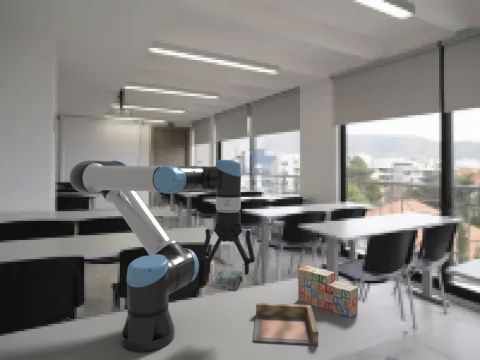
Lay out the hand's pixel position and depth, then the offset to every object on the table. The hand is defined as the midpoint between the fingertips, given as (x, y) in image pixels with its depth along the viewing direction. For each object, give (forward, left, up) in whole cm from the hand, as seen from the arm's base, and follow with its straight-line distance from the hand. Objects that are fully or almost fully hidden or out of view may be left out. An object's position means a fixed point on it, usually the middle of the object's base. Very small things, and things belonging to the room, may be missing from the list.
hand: (227, 283), depth 99 cm
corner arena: (+17, +4, -15) cm, 23 cm away
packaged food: (0, 0, -1) cm, 1 cm away
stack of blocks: (+34, +23, -15) cm, 43 cm away
